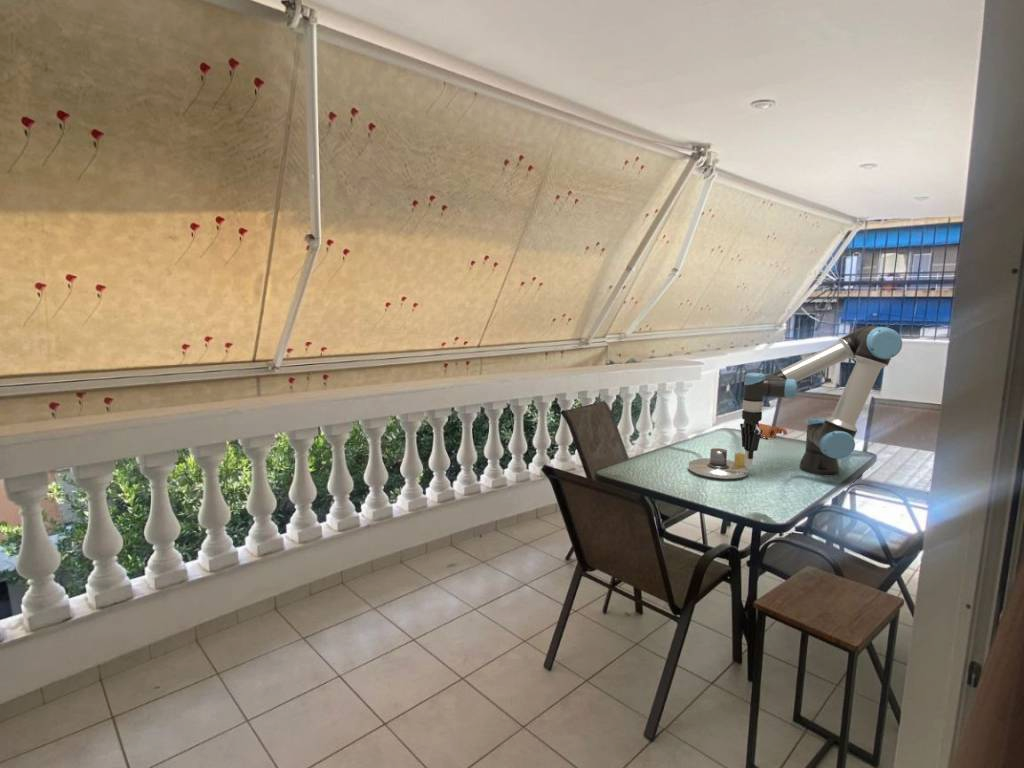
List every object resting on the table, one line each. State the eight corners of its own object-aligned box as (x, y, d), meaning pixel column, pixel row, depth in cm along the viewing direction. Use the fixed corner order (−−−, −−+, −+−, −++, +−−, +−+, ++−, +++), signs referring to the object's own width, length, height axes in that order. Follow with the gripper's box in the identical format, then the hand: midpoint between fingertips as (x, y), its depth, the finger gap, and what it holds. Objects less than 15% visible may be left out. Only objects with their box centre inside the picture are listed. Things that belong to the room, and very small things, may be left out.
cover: (731, 467, 234) (732, 451, 233) (717, 469, 231) (718, 453, 230) (717, 462, 241) (718, 446, 240) (704, 464, 237) (705, 448, 236)
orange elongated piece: (767, 442, 288) (768, 427, 287) (753, 438, 294) (754, 424, 293) (789, 436, 298) (790, 422, 297) (775, 433, 305) (776, 419, 304)
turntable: (706, 480, 222) (707, 464, 221) (678, 463, 246) (679, 449, 245) (760, 476, 226) (761, 461, 225) (728, 460, 250) (729, 446, 249)
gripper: (770, 413, 221) (765, 469, 225) (751, 407, 234) (748, 460, 238) (752, 413, 220) (748, 470, 224) (735, 407, 233) (731, 461, 237)
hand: (748, 465), depth 231 cm, fingers closed
